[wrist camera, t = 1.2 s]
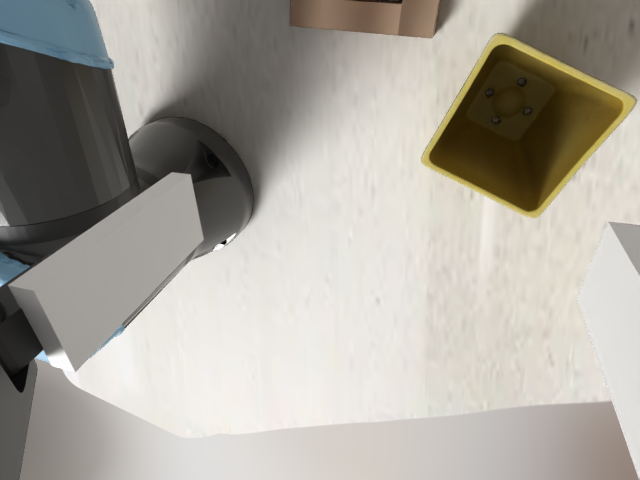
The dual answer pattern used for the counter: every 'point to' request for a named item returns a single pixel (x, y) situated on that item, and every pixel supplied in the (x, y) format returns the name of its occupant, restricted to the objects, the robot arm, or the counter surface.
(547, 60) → the flower pot
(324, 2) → the board
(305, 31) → the counter surface
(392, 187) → the counter surface
